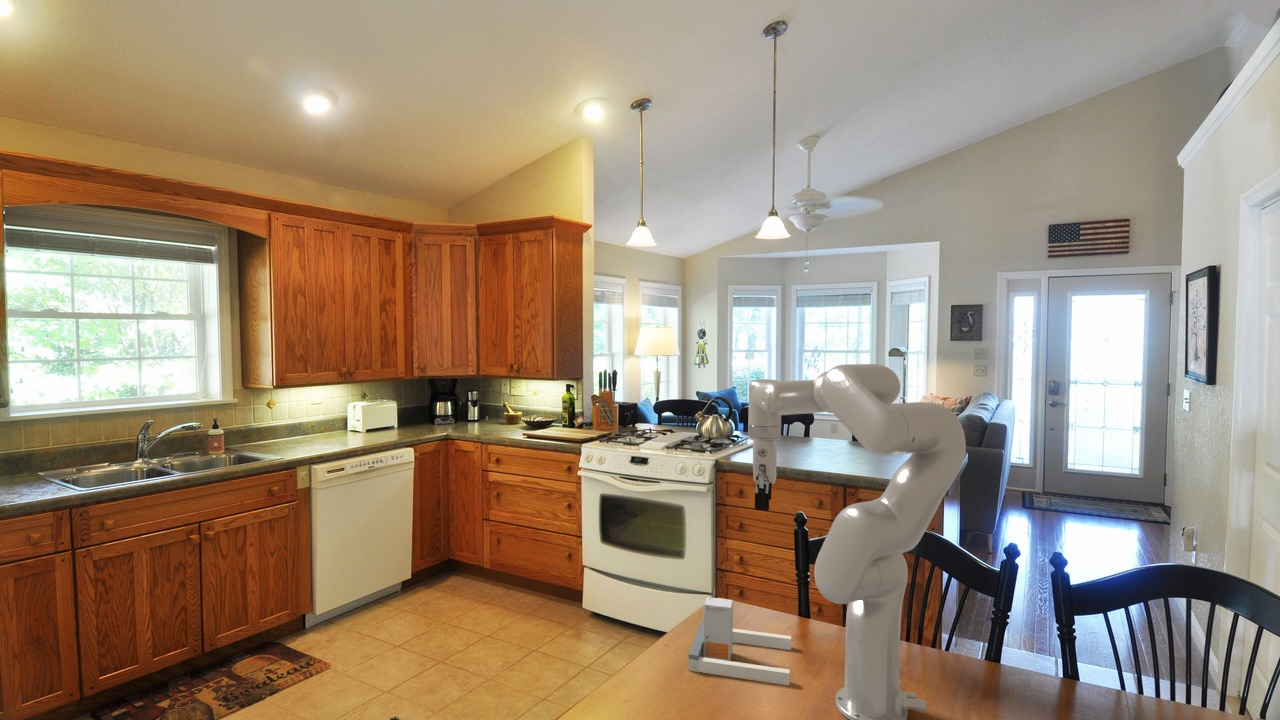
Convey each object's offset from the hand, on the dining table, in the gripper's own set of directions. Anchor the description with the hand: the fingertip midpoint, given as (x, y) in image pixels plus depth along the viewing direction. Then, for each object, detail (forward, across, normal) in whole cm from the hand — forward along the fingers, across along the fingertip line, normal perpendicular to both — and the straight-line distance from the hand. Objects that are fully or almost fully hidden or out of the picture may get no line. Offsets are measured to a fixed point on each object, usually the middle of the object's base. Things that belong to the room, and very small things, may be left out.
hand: (763, 504), depth 146 cm
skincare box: (+31, -14, +8) cm, 35 cm away
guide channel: (+30, -14, +3) cm, 34 cm away
